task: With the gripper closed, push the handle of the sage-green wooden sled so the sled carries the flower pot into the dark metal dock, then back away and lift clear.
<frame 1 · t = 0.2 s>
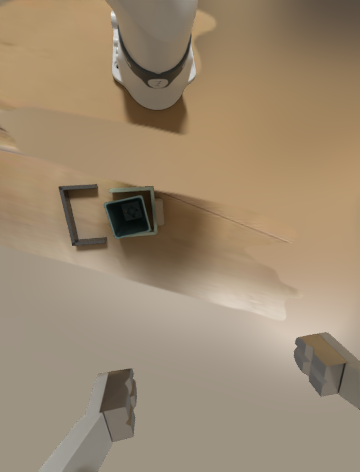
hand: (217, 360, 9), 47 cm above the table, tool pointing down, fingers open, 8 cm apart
flower pot: (132, 210, 53), on the table
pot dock: (94, 213, 52), on the table
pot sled: (138, 212, 50), point 3 cm above the table, slide at 10.0 cm
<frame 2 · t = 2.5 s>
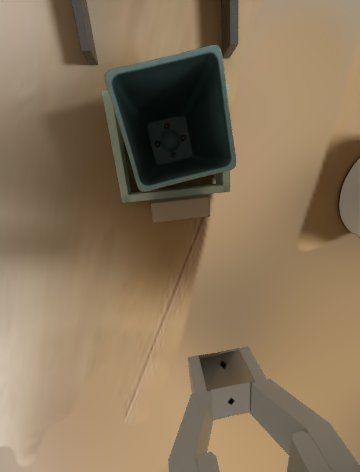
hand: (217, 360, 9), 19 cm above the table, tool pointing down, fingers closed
flower pot: (169, 142, 24), on the table
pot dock: (159, 38, 21), on the table
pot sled: (173, 156, 21), point 3 cm above the table, slide at 10.0 cm
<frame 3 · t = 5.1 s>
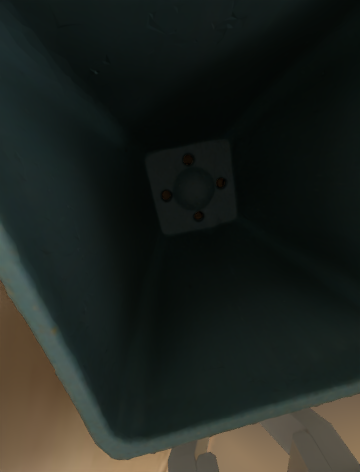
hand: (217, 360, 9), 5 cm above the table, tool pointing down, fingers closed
flower pot: (190, 190, 12), on the table, touching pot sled
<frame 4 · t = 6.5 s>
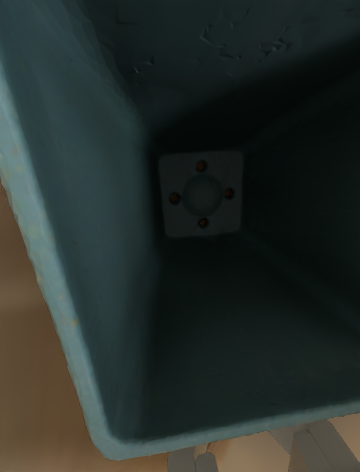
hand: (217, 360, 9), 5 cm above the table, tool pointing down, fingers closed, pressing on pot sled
flower pot: (198, 196, 12), on the table, touching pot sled
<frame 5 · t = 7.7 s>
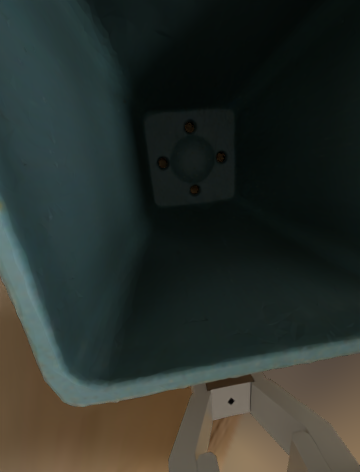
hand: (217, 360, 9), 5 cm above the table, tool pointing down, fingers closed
flower pot: (189, 162, 11), on the table
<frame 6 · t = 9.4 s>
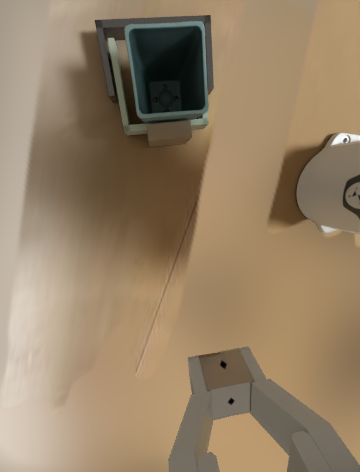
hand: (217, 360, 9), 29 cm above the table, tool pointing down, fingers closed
flower pot: (165, 100, 31), on the table
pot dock: (160, 83, 30), on the table
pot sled: (163, 92, 27), point 3 cm above the table, slide at 0.5 cm
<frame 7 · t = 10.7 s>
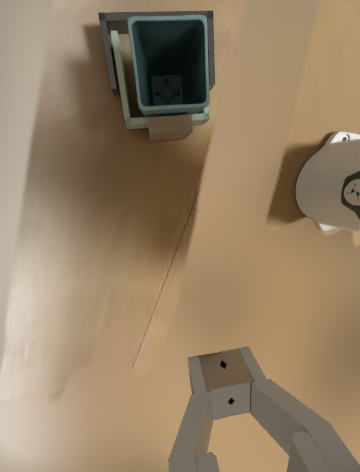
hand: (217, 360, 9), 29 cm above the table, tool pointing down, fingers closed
flower pot: (166, 95, 31), on the table
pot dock: (162, 77, 30), on the table
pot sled: (164, 86, 28), point 3 cm above the table, slide at 0.5 cm
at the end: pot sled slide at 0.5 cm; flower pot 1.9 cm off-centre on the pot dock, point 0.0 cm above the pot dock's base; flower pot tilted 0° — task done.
